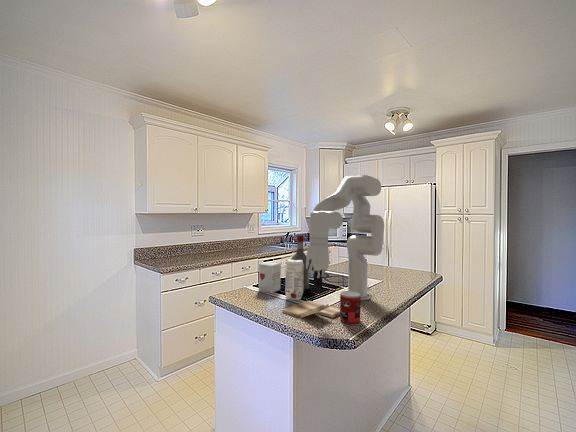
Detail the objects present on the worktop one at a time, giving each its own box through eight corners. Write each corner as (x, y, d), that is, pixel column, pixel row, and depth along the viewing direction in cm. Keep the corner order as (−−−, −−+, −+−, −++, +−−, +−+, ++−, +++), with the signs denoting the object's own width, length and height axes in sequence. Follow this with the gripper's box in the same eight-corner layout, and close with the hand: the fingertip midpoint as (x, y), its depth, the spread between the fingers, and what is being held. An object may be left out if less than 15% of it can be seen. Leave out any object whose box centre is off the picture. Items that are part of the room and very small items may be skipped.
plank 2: (325, 307, 131) (325, 305, 131) (343, 312, 125) (343, 310, 125) (314, 312, 125) (314, 309, 125) (332, 317, 119) (332, 314, 119)
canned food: (337, 317, 120) (338, 291, 119) (356, 317, 120) (357, 290, 120) (342, 324, 112) (343, 296, 112) (363, 324, 113) (363, 296, 112)
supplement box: (258, 291, 158) (258, 263, 158) (267, 287, 165) (267, 261, 165) (271, 293, 153) (272, 265, 153) (280, 289, 161) (281, 262, 160)
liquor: (304, 285, 170) (304, 234, 169) (310, 289, 161) (310, 236, 161) (289, 286, 167) (290, 234, 167) (294, 291, 158) (295, 236, 158)
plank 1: (313, 312, 124) (312, 310, 125) (329, 307, 119) (328, 304, 119) (300, 318, 118) (299, 314, 119) (317, 312, 113) (316, 309, 113)
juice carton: (301, 300, 141) (302, 262, 141) (284, 299, 143) (284, 261, 142) (303, 296, 148) (304, 259, 148) (287, 295, 150) (287, 258, 150)
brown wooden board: (308, 302, 138) (308, 300, 138) (324, 307, 132) (324, 304, 132) (282, 312, 125) (282, 309, 125) (299, 318, 119) (299, 315, 119)
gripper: (322, 240, 125) (321, 282, 125) (299, 242, 114) (298, 288, 114) (336, 241, 120) (335, 285, 120) (314, 243, 109) (313, 292, 109)
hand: (317, 287), depth 117 cm, fingers closed
